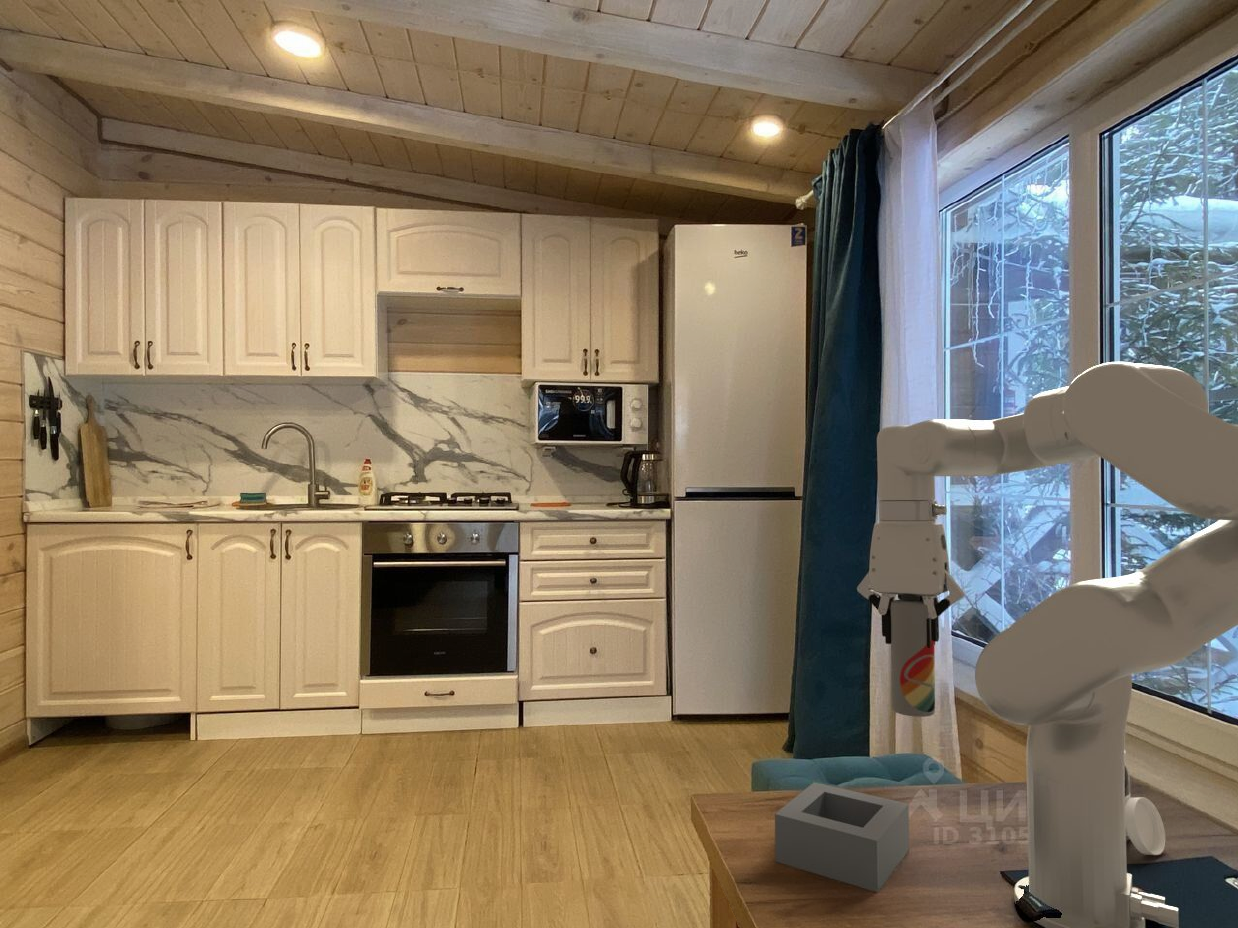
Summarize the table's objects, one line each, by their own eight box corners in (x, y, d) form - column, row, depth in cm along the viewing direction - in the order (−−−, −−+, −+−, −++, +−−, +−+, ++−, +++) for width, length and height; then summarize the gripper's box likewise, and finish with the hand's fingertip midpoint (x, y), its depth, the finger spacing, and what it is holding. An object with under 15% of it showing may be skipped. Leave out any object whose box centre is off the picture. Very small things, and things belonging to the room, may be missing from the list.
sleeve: (909, 849, 102) (908, 803, 102) (877, 892, 91) (876, 840, 91) (814, 824, 109) (814, 781, 110) (775, 861, 99) (774, 813, 99)
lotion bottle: (938, 718, 104) (937, 569, 105) (894, 715, 106) (893, 568, 106) (930, 707, 110) (929, 565, 111) (888, 704, 111) (887, 564, 112)
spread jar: (1066, 813, 113) (1064, 732, 113) (1161, 830, 107) (1158, 745, 107) (1065, 846, 103) (1063, 757, 103) (1169, 867, 97) (1167, 773, 97)
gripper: (977, 513, 107) (981, 646, 106) (856, 512, 117) (859, 634, 116) (965, 514, 101) (969, 655, 100) (838, 514, 111) (841, 642, 110)
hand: (910, 642), depth 108 cm, fingers closed on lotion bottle, 4 cm apart
